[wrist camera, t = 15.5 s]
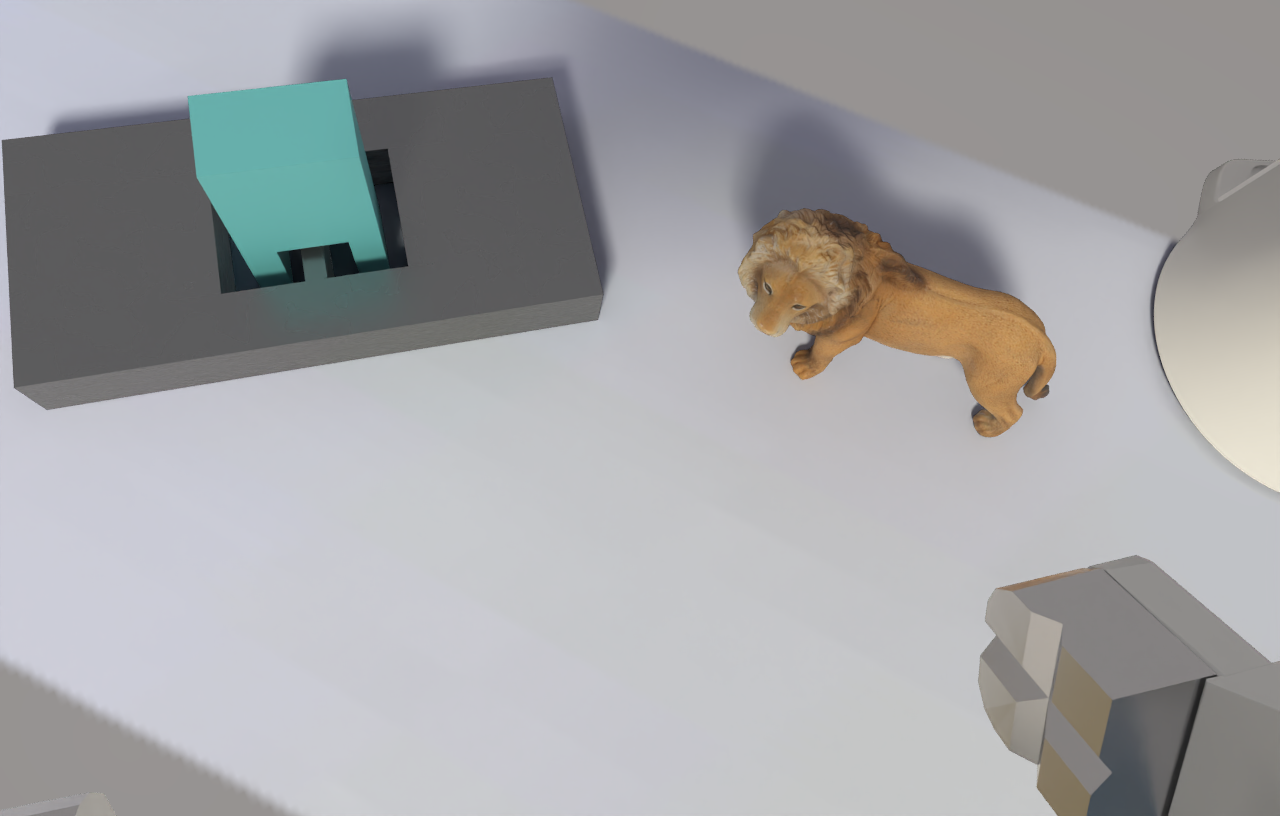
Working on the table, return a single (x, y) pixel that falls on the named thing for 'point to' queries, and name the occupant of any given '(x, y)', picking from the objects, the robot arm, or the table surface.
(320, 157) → the teal rectangular prism
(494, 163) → the gray rectangular base
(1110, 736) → the robot arm
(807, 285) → the lion figurine
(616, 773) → the table surface
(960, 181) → the table surface
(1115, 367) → the table surface
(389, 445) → the table surface
